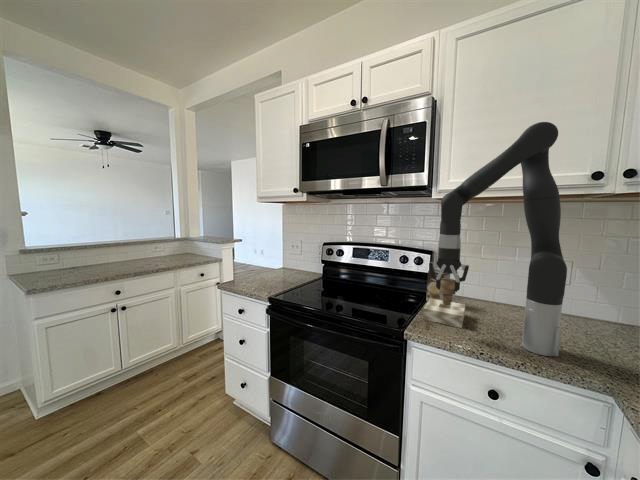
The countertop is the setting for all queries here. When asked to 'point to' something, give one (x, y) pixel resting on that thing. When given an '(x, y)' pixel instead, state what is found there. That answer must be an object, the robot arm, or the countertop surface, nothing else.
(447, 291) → the walnut peg
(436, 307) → the birch block
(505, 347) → the countertop surface
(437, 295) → the coffee box
